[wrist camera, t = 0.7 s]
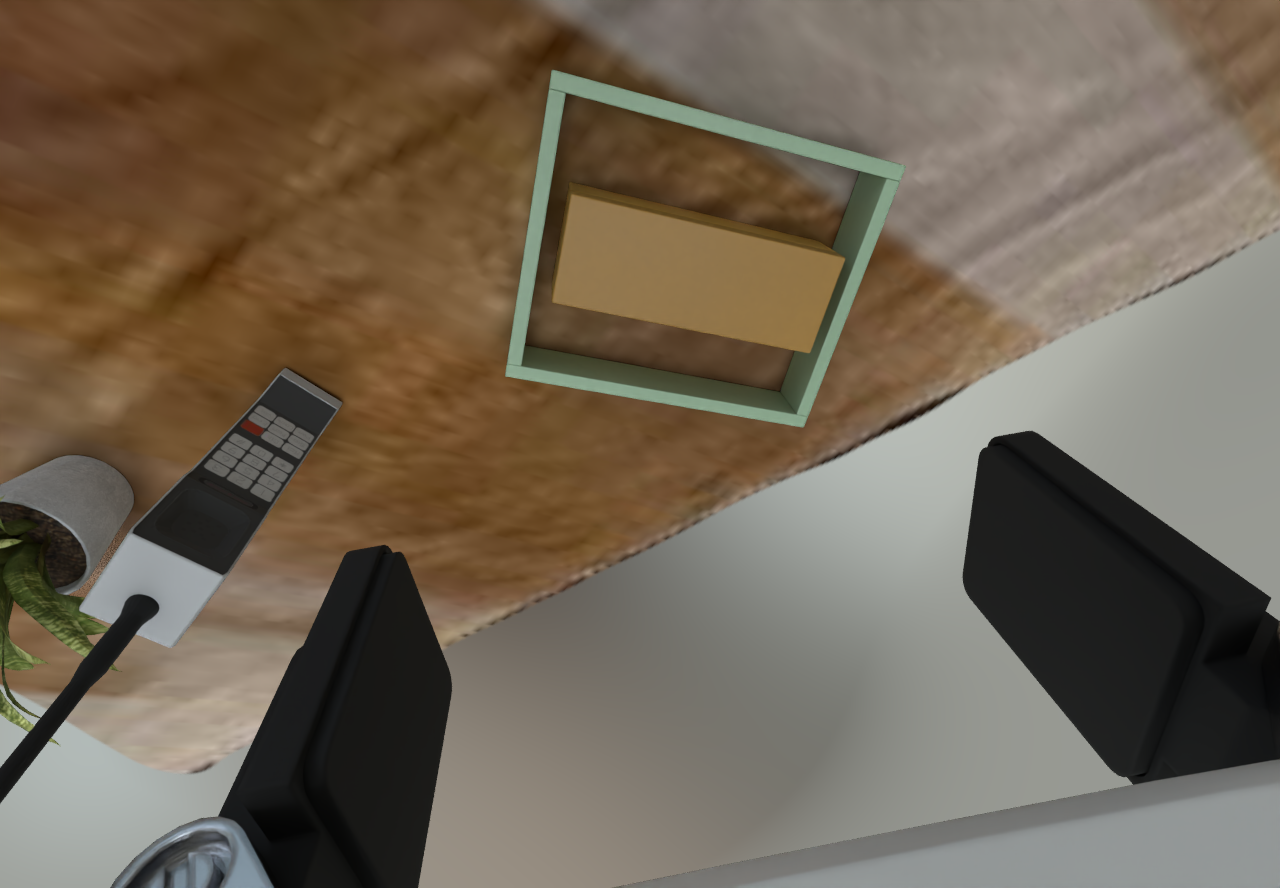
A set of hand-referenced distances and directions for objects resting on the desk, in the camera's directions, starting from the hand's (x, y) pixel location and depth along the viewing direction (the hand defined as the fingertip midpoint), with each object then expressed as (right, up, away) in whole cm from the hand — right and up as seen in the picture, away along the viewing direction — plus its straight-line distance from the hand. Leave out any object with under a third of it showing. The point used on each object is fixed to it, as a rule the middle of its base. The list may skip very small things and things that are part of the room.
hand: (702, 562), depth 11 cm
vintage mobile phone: (-22, +4, +30) cm, 38 cm away
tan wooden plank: (+2, +13, +28) cm, 31 cm away
